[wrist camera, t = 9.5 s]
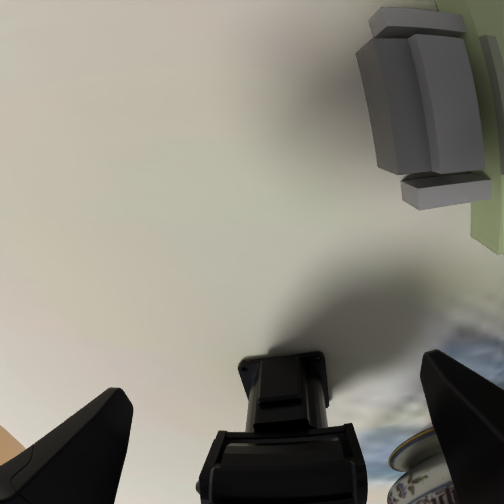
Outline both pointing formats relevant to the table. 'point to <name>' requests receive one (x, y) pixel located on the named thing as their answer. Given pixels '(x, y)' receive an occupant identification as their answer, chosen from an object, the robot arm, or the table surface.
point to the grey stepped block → (422, 104)
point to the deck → (489, 102)
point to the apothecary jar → (421, 472)
